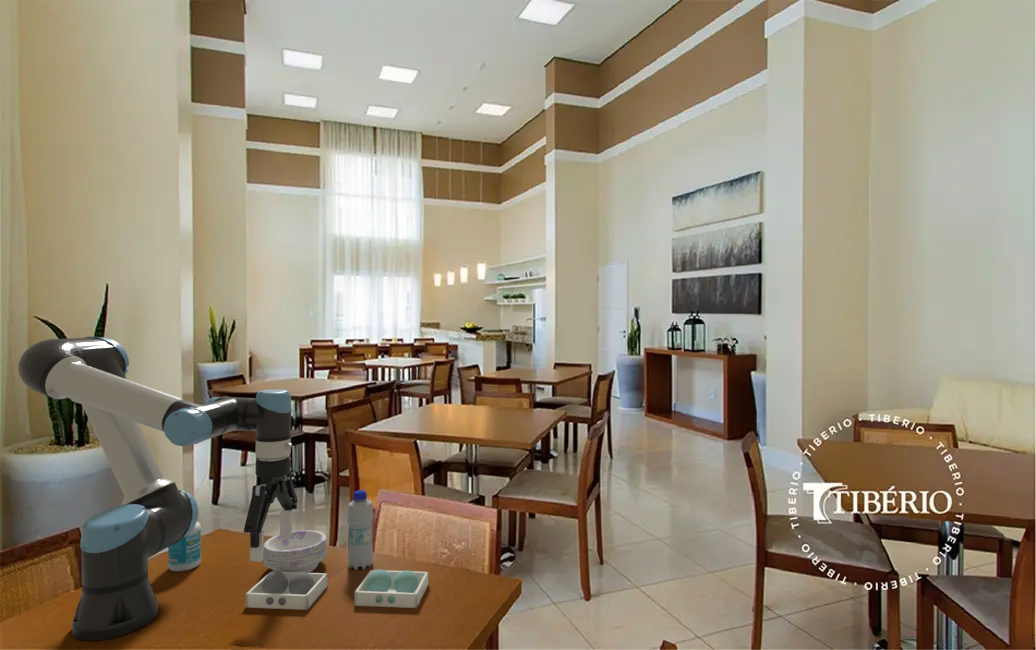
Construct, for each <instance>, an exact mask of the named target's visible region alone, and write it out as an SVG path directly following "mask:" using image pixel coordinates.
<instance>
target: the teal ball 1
mask: <svg viewBox="0 0 1036 650" xmlns="http://www.w3.org/2000/svg"><path fill="white" fill-rule="evenodd" d="M375 570H376V571H374V572H372V573H371V574H370V576H369V578H368V581H367V586H368V589H369V591H374V592H387V591H388V590H389V588H390V586H391V576H390V574H389V573H388V572H387V571H388V570H385V569H381V568H380V569H375Z"/></svg>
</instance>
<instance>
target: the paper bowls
mask: <svg viewBox="0 0 1036 650" xmlns="http://www.w3.org/2000/svg"><path fill="white" fill-rule="evenodd" d="M327 537H328V536H327V535H326V534H325V533H324V532H322V531H317V530H311V529H309V530H308V529H307V530H305V529H304V530H294V531H293V530H292V537H291V538H288V537H280V534H277V535H275V536H273V537H270V538H269V539H267V540H266V541H264V560H263V565H264V566H265V568H268V569H270V570H272V572H274V571H280V572H307V573H312V572H313V571H314V570H316V568H317V567H318V565H319V563H321V562H322V561H324V560H325V558H326V557H327V553H328V551H327V550H328V549H327V547H328V542H327V541H328V538H327Z"/></svg>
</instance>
